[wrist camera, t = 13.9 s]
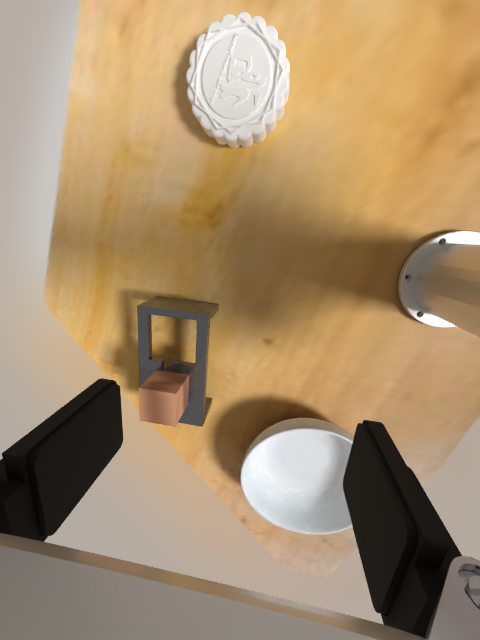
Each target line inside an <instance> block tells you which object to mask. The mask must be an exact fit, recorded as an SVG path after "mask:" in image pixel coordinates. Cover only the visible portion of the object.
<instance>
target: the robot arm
mask: <svg viewBox="0 0 480 640" xmlns="http://www.w3.org/2000/svg"><path fill="white" fill-rule="evenodd" d="M439 240H440V243H439ZM406 275H407V278H405V276H406ZM398 296H399V299H400V302H401V304H402V306H403V307H404V309H405V310H406V311H407V312H408V314H409V315H410V316H412V317H413V318H415V319H416V320H418V321H420V322H422V323H424V324H426V325H429V326H433V327H440V328H447V327H456V326H458V327H460V328H462V329H464V330H466V331H468V332H470V333H472V334H474V335H476V336H478V337H480V233H479V232H474V231H454V232H448V233H444V234H440V235H438V236H435V237H433V238H431V239H429V240H428V241H426V242H425V243H423V244H422V245H420V246H419V247H418V248H417V249H416V250H415V251H414V252H413V253H412V254H411V255H410V256H409V258H408V259H407V260H406V262H405V264H404V266H403V267H402V269H401V272H400V275H399V279H398ZM417 313H418V314H417ZM122 442H123V429H122V413H121V397H120V386H119V385H117V383H116V381H114V380H108V379H99V380H97V381H96V382H94V383H93V384H92V385H91V386H89V387H88V388H87V389H85V390H84V391H83V392H81V393H80V394H79V395H77V396H76V397H75V398H74V399H72V400H71V401H70V402H69V403H67V404H66V405H64V406H63V407H62V408H61V409H59V410H58V411H57V412H55V413H54V414H53V415H51V416H50V417H49V418H48V419H46V420H45V421H44V422H42V423H41V424H40V425H38V426H37V427H36V428H35V429H33V430H32V431H31V432H29V433H28V434H27V435H25V436H24V437H23V438H21V439H20V440H19V441H18V442H16V443H15V444H14V445H12V446H11V447H10V448H8V449H7V450H6V451H5V452H3V453H2V456H3V459H1V460H0V640H480V561H479V560H477V559H474V558H472V557H465V556H462V555H461V553H460V552H459V550H458V548H457V546H456V545H455V543H454V541H453V540H452V538H451V536H450V534H449V533H448V531H447V530H446V528H445V526H444V524H443V522H442V521H441V519H440V517H439V515H438V514H437V512H436V510H435V509H434V507H433V505H432V504H431V502H430V500H429V499H428V497H427V495H426V493H425V491H424V490H423V488H422V486H421V484H420V483H419V481H418V479H417V478H416V476H415V474H414V473H413V471H412V470H411V469H410V468H409V467H408V466H407V465H406V464H405V462H404V460H403V458H402V457H401V455H400V453H399V451H398V450H397V448H396V446H395V444H394V442H393V441H392V439H391V437H390V435H389V434H388V432H387V430H386V428H385V427H384V425H383V424H382V423H381V422H374V421H368V420H364V421H363V423H362V424H361V423H359V424H358V425H357V428H356V432H355V436H354V439H353V443H352V447H351V451H350V455H349V458H348V462H347V466H346V470H345V474H344V477H343V491H344V495H345V499H346V503H347V507H348V510H349V514H350V518H351V522H352V526H353V530H354V534H355V537H356V541H357V545H358V549H359V553H360V557H361V561H362V564H363V568H364V572H365V576H366V580H367V583H368V588H369V592H370V596H371V599H372V603H373V606H374V608H375V611H376V612H378V613H381V616H382V619H383V623H384V625H383V624H379V623H376V622H372V621H368V620H364V619H361V618H357V617H353V616H349V615H345V614H342V613H338V612H334V611H331V610H327V609H323V608H319V607H315V606H311V605H307V604H303V603H299V602H294V601H290V600H286V599H283V598H278V597H274V596H270V595H266V594H262V593H258V592H254V591H250V590H246V589H242V588H237V587H234V586H229V585H225V584H221V583H217V582H213V581H208V580H204V579H200V578H196V577H192V576H187V575H183V574H179V573H175V572H171V571H167V570H162V569H158V568H154V567H149V566H146V565H141V564H137V563H133V562H129V561H124V560H120V559H116V558H111V557H107V556H103V555H98V554H94V553H90V552H85V551H81V550H77V549H72V548H68V547H64V546H59V545H54V544H51V543H46V542H44V541H45V539H46V538H47V537H48V536H51V535H53V534H54V533H55V532H56V531H57V530H58V528H59V527H60V526H61V524H62V523H63V522H64V520H65V519H66V518H67V517H68V515H69V514H70V513H71V511H72V510H73V509H74V507H75V506H76V505H77V504H78V502H79V501H80V500H81V498H82V497H83V496H84V494H85V493H86V492H87V491H88V489H89V488H90V487H91V485H92V484H93V483H94V481H95V480H96V479H97V477H98V476H99V475H100V474H101V472H102V471H103V470H104V468H105V467H106V466H107V464H108V463H109V462H110V461H111V459H112V458H113V457H114V455H115V454H116V453H117V451H118V450H119V449H120V447H121V445H122Z"/></svg>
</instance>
